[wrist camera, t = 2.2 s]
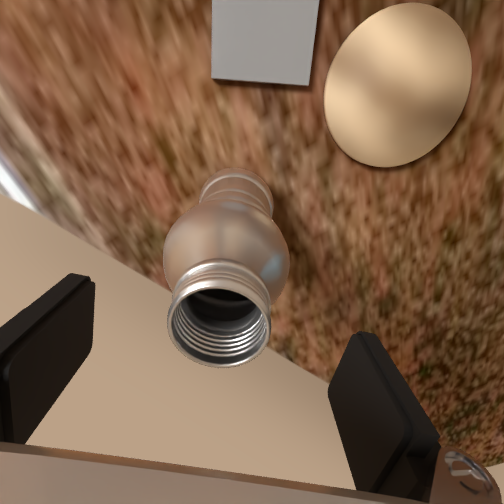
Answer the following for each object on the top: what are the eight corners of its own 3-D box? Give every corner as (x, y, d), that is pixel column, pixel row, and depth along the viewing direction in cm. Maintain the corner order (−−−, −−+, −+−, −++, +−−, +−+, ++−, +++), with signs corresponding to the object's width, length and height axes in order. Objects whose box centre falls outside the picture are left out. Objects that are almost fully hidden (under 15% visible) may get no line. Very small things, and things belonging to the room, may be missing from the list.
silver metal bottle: (245, 242, 30) (243, 420, 12) (190, 204, 29) (89, 343, 10) (285, 192, 28) (354, 315, 10) (227, 148, 27) (186, 199, 8)
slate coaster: (213, -47, 21) (212, -53, 21) (322, -37, 22) (324, -42, 21) (212, 79, 25) (211, 77, 24) (307, 86, 25) (308, 85, 24)
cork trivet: (353, -15, 22) (357, -20, 22) (493, 31, 24) (501, 28, 23) (305, 148, 27) (306, 148, 26) (424, 179, 28) (429, 180, 27)
